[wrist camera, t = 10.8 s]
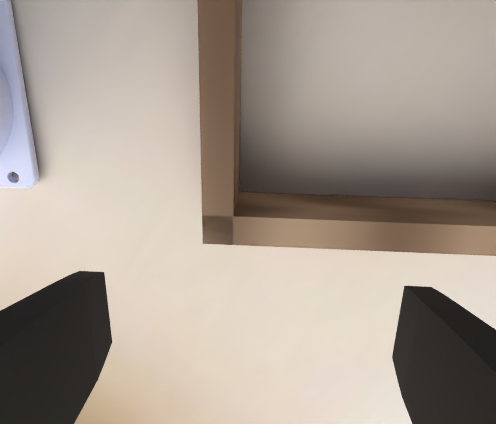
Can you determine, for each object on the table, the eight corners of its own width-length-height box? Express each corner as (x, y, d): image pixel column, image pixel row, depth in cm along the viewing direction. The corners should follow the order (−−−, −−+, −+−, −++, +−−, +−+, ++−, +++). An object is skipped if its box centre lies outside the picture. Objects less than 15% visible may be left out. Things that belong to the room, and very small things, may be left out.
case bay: (213, 215, 20) (202, 243, 17) (209, -109, 15) (194, -144, 12) (535, 228, 19) (581, 259, 16) (630, -108, 14) (715, -146, 12)
